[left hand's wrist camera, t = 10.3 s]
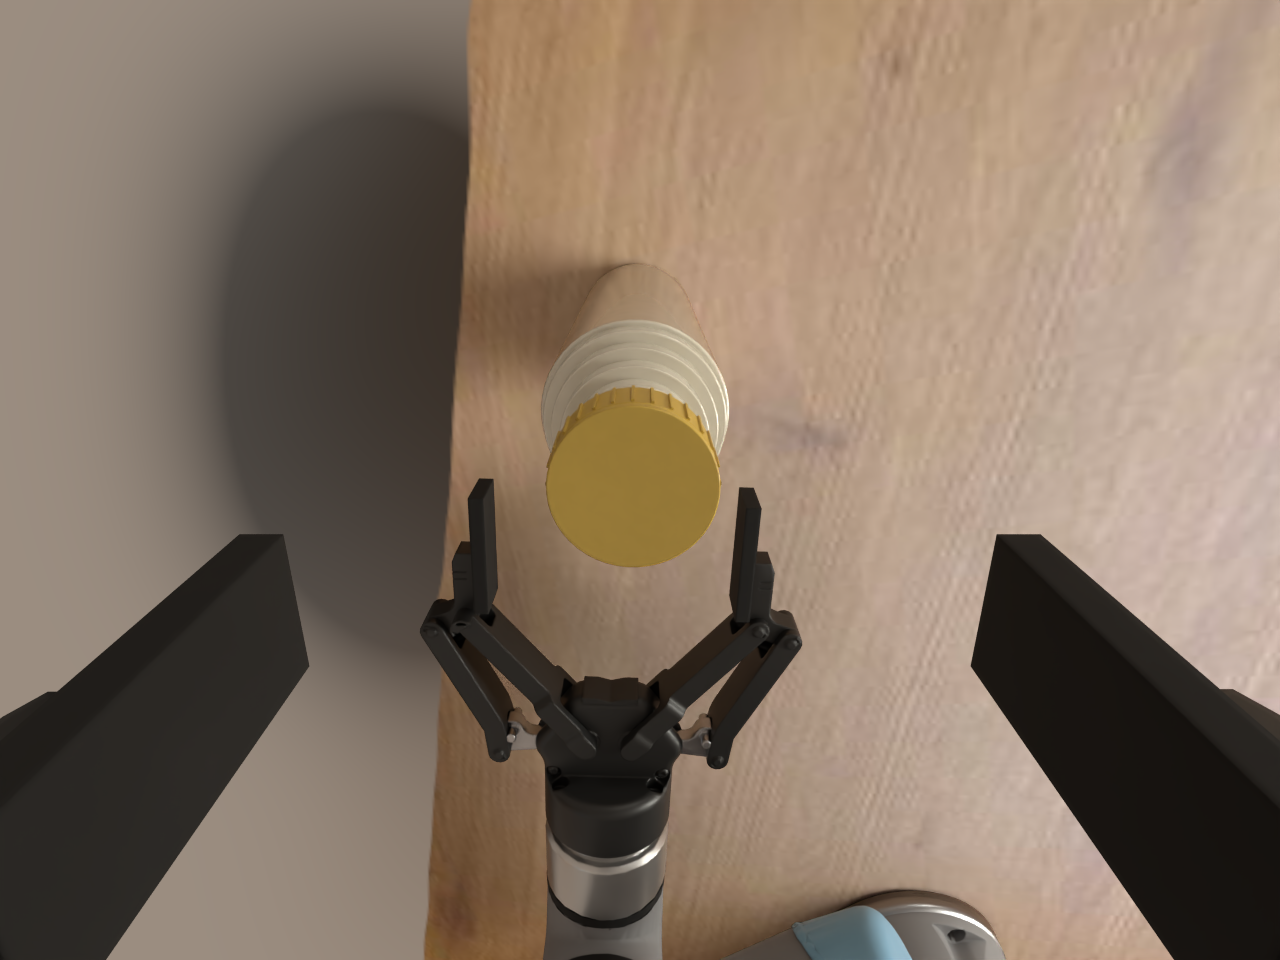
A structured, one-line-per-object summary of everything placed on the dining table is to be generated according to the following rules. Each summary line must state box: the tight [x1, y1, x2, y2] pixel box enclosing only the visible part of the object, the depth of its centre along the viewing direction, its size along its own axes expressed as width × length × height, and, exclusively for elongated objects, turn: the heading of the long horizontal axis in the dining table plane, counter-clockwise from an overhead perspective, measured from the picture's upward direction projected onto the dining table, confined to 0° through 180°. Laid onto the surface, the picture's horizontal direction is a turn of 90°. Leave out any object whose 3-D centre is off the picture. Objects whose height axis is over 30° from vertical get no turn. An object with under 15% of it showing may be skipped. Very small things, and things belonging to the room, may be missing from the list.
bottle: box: [541, 264, 729, 457], centre depth 29 cm, size 6×6×24 cm
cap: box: [545, 385, 721, 567], centre depth 19 cm, size 4×4×2 cm
